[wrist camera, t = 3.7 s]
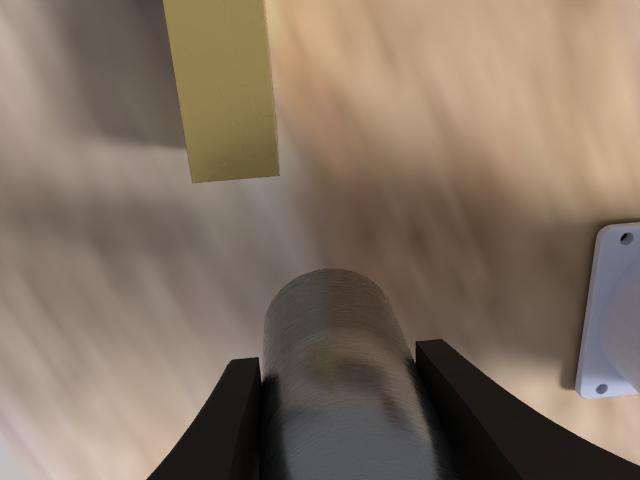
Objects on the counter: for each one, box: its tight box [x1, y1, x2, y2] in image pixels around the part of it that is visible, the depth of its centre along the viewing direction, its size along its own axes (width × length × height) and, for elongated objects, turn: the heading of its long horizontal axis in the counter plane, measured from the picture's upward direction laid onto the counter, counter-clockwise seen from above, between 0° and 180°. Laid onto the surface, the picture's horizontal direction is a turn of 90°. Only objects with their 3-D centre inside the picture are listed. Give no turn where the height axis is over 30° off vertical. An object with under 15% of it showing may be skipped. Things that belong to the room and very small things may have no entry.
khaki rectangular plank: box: [163, 0, 280, 183], centre depth 15 cm, size 2×6×4 cm, turn 4°
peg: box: [259, 269, 465, 480], centre depth 11 cm, size 4×4×8 cm
